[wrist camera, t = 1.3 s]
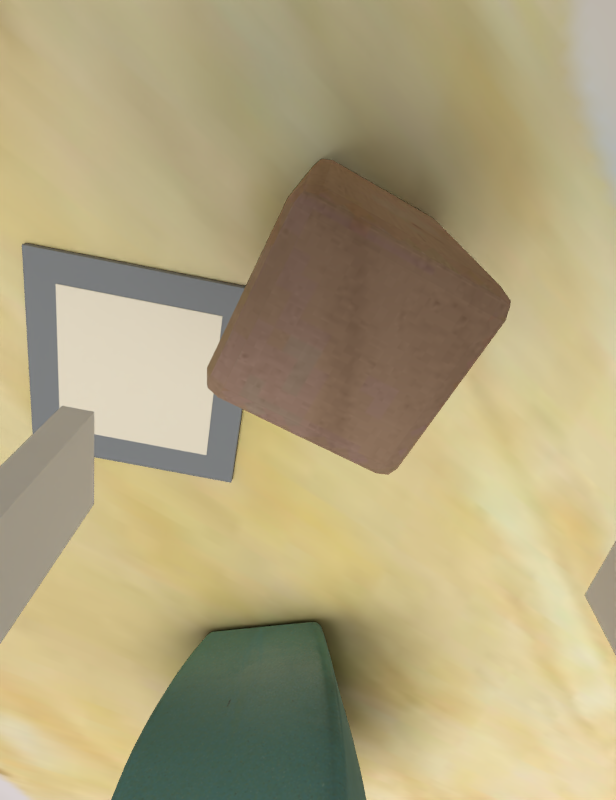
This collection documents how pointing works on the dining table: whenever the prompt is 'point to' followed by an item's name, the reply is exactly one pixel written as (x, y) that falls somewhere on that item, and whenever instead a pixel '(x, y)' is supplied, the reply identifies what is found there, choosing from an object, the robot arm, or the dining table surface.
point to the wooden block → (355, 321)
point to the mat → (131, 358)
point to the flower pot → (248, 724)
